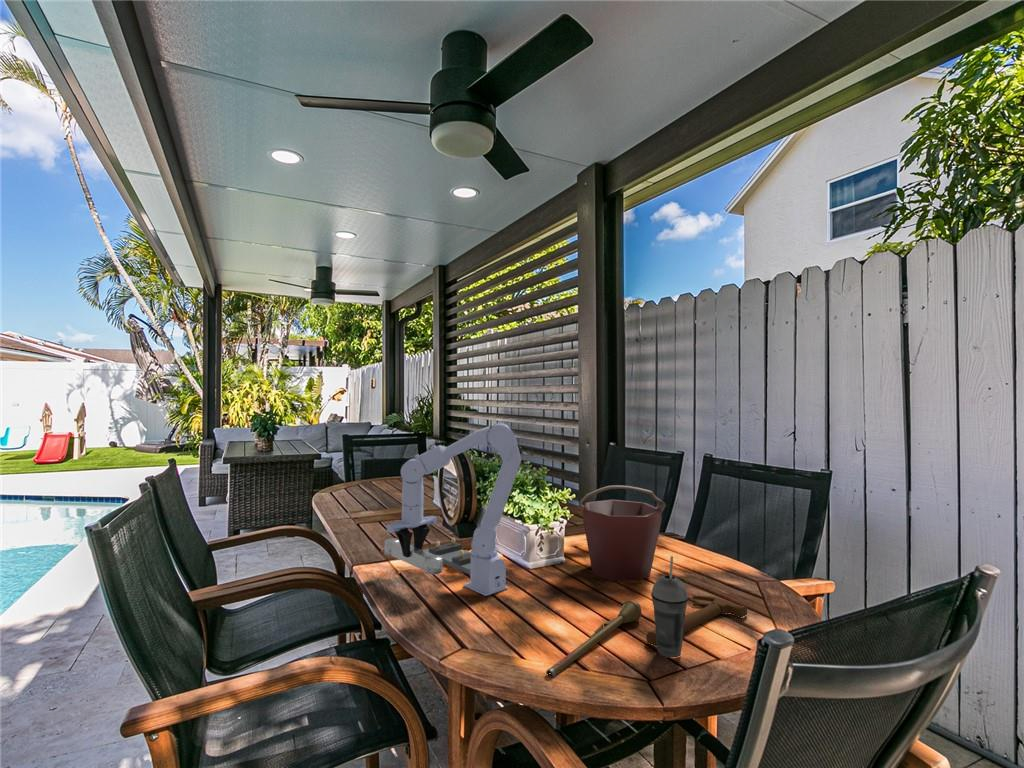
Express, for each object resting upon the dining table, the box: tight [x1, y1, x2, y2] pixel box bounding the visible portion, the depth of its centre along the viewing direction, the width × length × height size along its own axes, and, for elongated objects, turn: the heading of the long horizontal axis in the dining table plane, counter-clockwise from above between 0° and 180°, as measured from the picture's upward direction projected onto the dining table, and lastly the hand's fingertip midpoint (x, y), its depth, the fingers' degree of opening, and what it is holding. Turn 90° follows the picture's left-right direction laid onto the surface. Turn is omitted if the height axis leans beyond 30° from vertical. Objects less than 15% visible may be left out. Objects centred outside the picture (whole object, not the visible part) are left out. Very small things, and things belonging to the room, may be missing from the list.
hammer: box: [645, 595, 748, 646], centre depth 122 cm, size 12×3×30 cm
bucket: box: [578, 484, 667, 582], centre depth 156 cm, size 24×22×25 cm
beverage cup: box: [650, 555, 689, 658], centre depth 108 cm, size 7×7×20 cm
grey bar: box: [384, 537, 444, 575], centre depth 143 cm, size 24×4×4 cm, turn 44°
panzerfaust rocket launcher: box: [545, 600, 643, 677], centre depth 112 cm, size 5×35×5 cm
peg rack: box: [423, 537, 471, 575], centre depth 164 cm, size 24×10×5 cm, turn 44°
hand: (412, 554), depth 143 cm, fingers closed on grey bar, 3 cm apart
